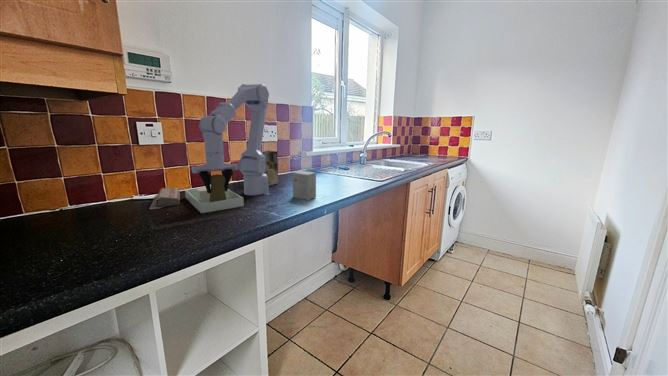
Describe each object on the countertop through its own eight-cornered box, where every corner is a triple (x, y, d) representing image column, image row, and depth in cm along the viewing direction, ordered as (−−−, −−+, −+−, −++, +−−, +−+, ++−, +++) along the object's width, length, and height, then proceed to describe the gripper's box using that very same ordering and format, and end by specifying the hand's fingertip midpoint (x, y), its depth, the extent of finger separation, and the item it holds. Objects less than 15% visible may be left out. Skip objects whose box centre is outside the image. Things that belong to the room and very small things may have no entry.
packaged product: (153, 187, 106) (183, 185, 110) (155, 199, 107) (184, 197, 112) (147, 199, 90) (182, 196, 95) (149, 213, 92) (183, 210, 96)
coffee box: (269, 181, 142) (268, 150, 138) (278, 183, 139) (278, 151, 135) (255, 185, 134) (254, 151, 130) (265, 186, 131) (264, 152, 127)
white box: (217, 195, 110) (217, 185, 109) (222, 198, 106) (222, 188, 105) (196, 198, 105) (195, 188, 104) (200, 202, 101) (199, 191, 100)
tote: (223, 195, 115) (222, 185, 114) (243, 208, 98) (243, 197, 97) (185, 200, 106) (184, 190, 105) (201, 216, 90) (200, 204, 89)
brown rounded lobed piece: (218, 209, 93) (216, 177, 91) (204, 206, 95) (203, 175, 93) (231, 205, 98) (230, 174, 96) (218, 202, 101) (217, 172, 98)
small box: (316, 197, 115) (316, 172, 113) (307, 200, 111) (308, 174, 108) (301, 194, 119) (301, 170, 117) (292, 197, 115) (292, 172, 112)
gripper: (194, 154, 86) (197, 197, 89) (240, 152, 95) (242, 191, 98) (188, 152, 91) (192, 192, 94) (232, 150, 100) (234, 187, 103)
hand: (217, 191), depth 97 cm, fingers closed on brown rounded lobed piece, 5 cm apart
